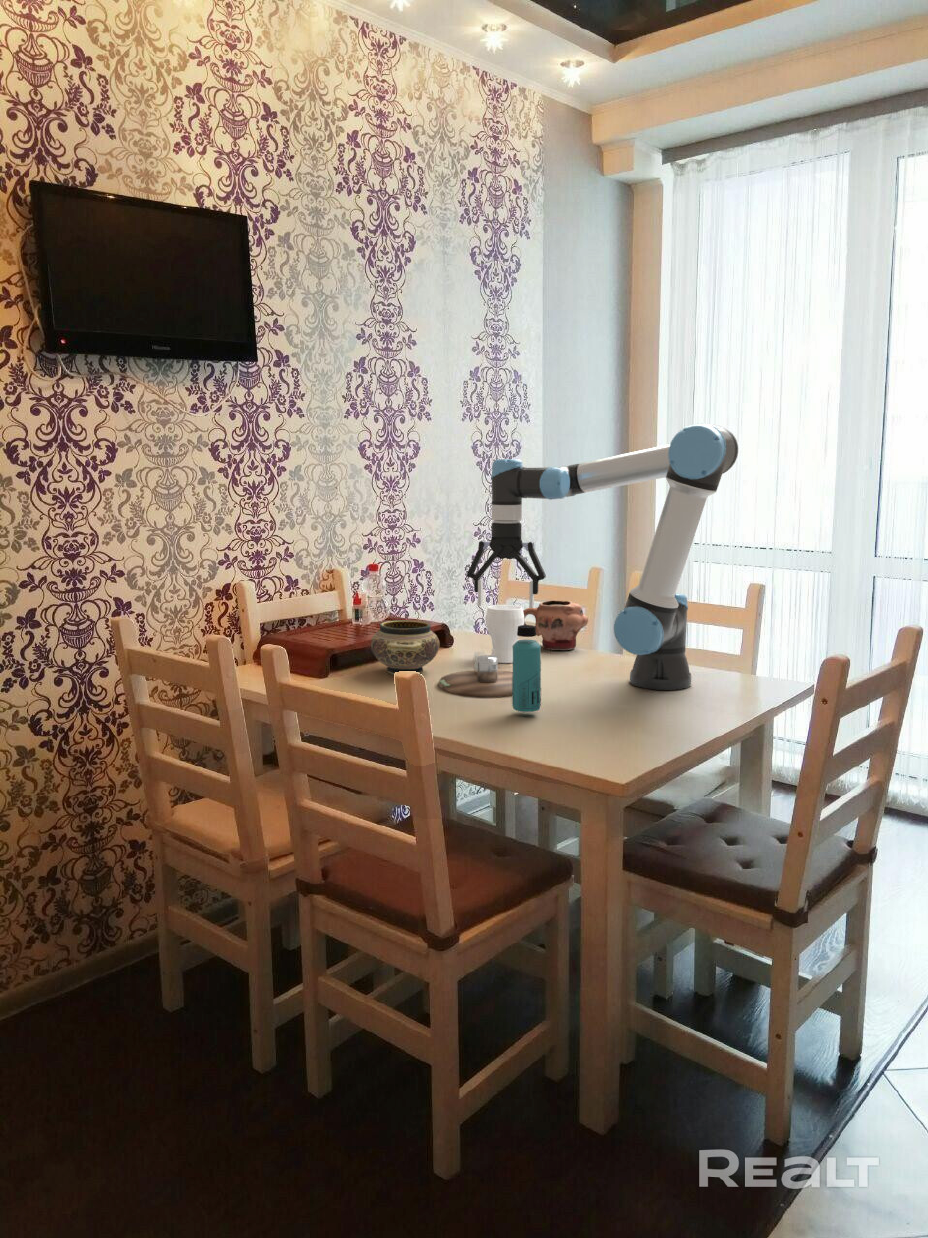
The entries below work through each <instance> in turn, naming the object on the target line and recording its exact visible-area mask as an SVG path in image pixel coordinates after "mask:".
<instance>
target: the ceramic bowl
mask: <svg viewBox="0 0 928 1238" xmlns="http://www.w3.org/2000/svg"><path fill="white" fill-rule="evenodd" d="M431 628H432V625H431V623H430V622H426V621H420V620H409V619H408V620H407V619H406V620H403V619H401V620H400V619H394V620H387V621H383V622H380V623H379V630H378V631H377V632H375V633H374V634H373V635H372V638H371V641H370V647H371V651H372V653H373V655H374V657H375V658H376V659H377V660H378V661H379V662H380V663H381V664H383V665H384V666H386V667H387V669H386V670H387V671H386V672H387V673H389V674H391V675H394V673H395V672H399V671H416V672H420V673H419V674H421V673H423V672H424V667H425V666H426V665H428V664H429V663H430V662H432V661H433V660H434V659H435V657H436V656H437V654H438V653H439V649H440V644H441V643H440V640H439V638H438V635H437V634H436V633H434V631H432V630H431Z"/></svg>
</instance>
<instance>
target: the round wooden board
mask: <svg viewBox="0 0 928 1238" xmlns="http://www.w3.org/2000/svg"><path fill="white" fill-rule="evenodd" d="M512 673H513V671H512V670H511V671H510V670H501V669H498V678H497V681H496V682H490V683H485V682H479V681H478V680H477V673H476V672H475V671H474V669H473V670H462V671H457V672H452V673H449V674H446V675H443V676H442V677H441V678H440V679H439V682H438V684H439V688H440V689H441V690H443V691H444V692H448V693H450V694H453V695H459V696H463V697H474V698H502V697H503V698H505V697H512V675H513V674H512Z"/></svg>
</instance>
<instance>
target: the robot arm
mask: <svg viewBox="0 0 928 1238" xmlns="http://www.w3.org/2000/svg"><path fill="white" fill-rule="evenodd" d="M738 454H739V445H738V440H737V438H736V436H735V435H734V434H733V433H732V431H730V430H729V429H727V427H723V426H721V425H717V424H708V423H700V422H699V423H695V424H691V425H688V426H686V427H683V428H682V429H681V430H679V431H678V432H677V433H675V435H674V437H672V440H671V441H670V443H669V444H666V445H660V446H656V447H652V448H646V449H641V450H637V451H636V450H635V451H632V452H627V453H622V454H618V455H613V456H609V457H604V458H600V459H595V460H590V461H585V462H581V463H574V464H570V465H563V466H553V467H550V466H548V467H547V466H546V467H545V466H544V467H527V466H523V461H522V460H521V459H516V458H515V459H514V458H512V459H511V458H510V459H505V458H504V459H503V458H502V459H501V458H498V459H495V460H494V461H493V462H492V468H491V477H490V479H491V517H490V518H491V520H492V521H493V522H492V523H491V537H490V538H491V540H490V541H486V540H480V541H479V542H478V547H477V548H478V549H477V551H476V554H475V555H474V558H473V560H472V563H471V565H470V566H469V569H468V571H467V573H466V577H467V578H471V579H472V580H473V591H474V593H477V607H482V605H484V579H483V578H481V577H482V576H483V575H484V574H485V573H486V571H487V570H488V568H489V567H490V566H491V565H492V564H493V562H494V561H495V560H496V559H497V558H498V560H499V559H500V560H503V559H504V560H505V559H507V560H513V559H515V560H516V561H517V562H518V564H519V565H520V566H521V567H522V569H523V571H525V573H526V574H527V575H528V576H529V578H530V579H531V580H530V581H529V590H528V591H529V593H528V594H529V596H528V597H529V598H528V599H529V600H528V602H529V603H528V605H529V606H528V608H535V595H538V594H539V581H542V580H543V581H544V579H545V578H546V577H547V576H546V573H545V570H544V568H543V565H542V563H541V561H540V558H539V556H538V555H537V552H536V551H535V550H536V549H535V542H534V541H531V540H530V541H529V542H527V541H526V542H523V540H522V523H521V522H520V521H521V520H522V517H523V515H522V514H523V513H522V508H523V507H522V506H523V505H522V503H523V501H522V500H523V499H538V500H539V499H545V500H549V501H550V500H561V499H564V498H568V497H574V496H576V495H580V494H586V493H591V492H596V491H600V490H601V491H602V490H606V489H611V488H616V487H622V486H626V485H633V484H638V483H644V482H649V481H654V480H659V479H663V478H665V480H666V481H667V483H668V486H669V489H668V491H667V494H666V498H665V501H664V504H663V507H662V509H661V510H662V511H661V514H660V517H659V521H658V523H657V526H656V529H655V532H654V535H653V538H652V543H651V546H650V549H649V552H648V556H647V558H646V561H645V565H644V566H643V567H644V568H643V571H642V575H641V577H640V580H639V584H638V585H637V586H635V587H633V588H631V589H630V590H629V592H628V597H627V599H626V602H625V604H624V609H622V610H621V611H619V613H618V614H617V616H616V618H615V620H614V622H613V623H614V624H613V633H614V638H615V639H616V641H617V643H618V645H619V646H620V647H621V648H622V649H623V650H625V651H626V652H628V653H630V654H632V655H636V656H635V658H634V659H635V660H634V663H633V666H632V669H631V670H630V672H629V683H630V684H631V685H633V686H636V687H639V688H643V689H648V690H654V691H655V690H657V691H658V690H659V691H674V690H676V691H677V689H678V690H683V688H684V689H687V688H689V687H691V686H692V679H693V677H692V673H691V672H690V667H689V663H688V659H687V655H686V648H687V647H686V646H687V645H686V644H687V625H688V623H687V622H688V610H689V605H688V597H687V596H686V595H685V594H683V593H677V590H678V587H679V584H680V581H681V579H682V576H683V575H682V574H683V572H684V568H685V566H686V562H687V561H688V560H687V559H688V557H689V553H690V550H691V548H692V545H693V542H694V538H695V536H696V533H697V529H698V526H699V523H700V521H701V517H702V514H703V511H704V508H705V505H706V502H707V498H709V496H712V495H715V493H717V491H718V488H719V485H720V482H721V479H722V476H723V474H725V473H727V472H728V471H729V470H730V469H732V467H733V466H734V465H735V463H736V461H737V458H738V457H739V455H738ZM488 548H490V549H491V551H492V554H491V555H490V556H489V557H488V558H487V559H486V561H485V562H484V564H483V565H482V566H481V567H480V568H479V570H478V571H477V572H476V570H477V568H478V566H479V563H480V561H481V560H482V557H483V555H484V553H485V551H486V550H488ZM523 548H524V549H525V551H526V552H528V555H529V558H530V559H531V562H532V564H533V566H534V569H535V570H536V572H535V570H533V568H532V567H531V566H530V564H529V563H528V561H526V559H525V557H524V556H523V554H522V553H521V550H523ZM475 572H476V573H475ZM690 685H691V686H690ZM688 686H689V687H688ZM686 687H687V688H686Z"/></svg>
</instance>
